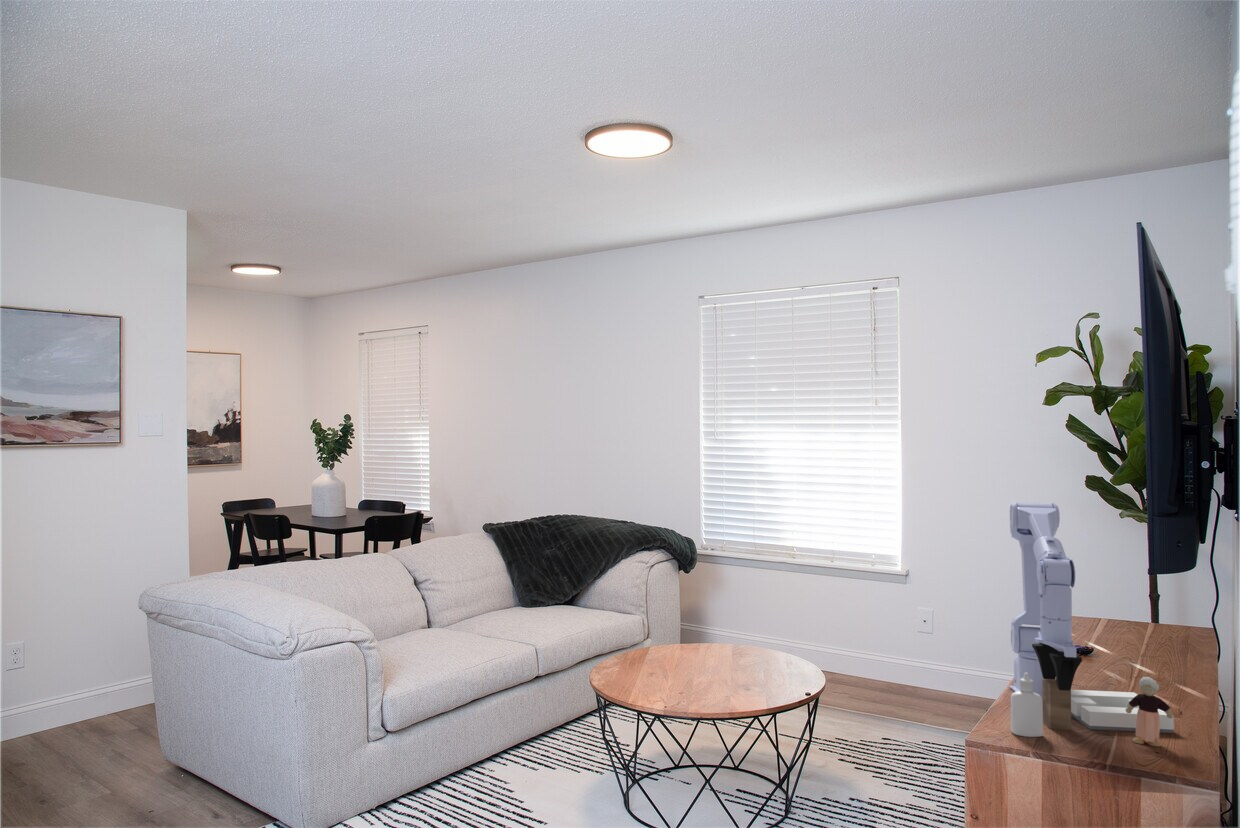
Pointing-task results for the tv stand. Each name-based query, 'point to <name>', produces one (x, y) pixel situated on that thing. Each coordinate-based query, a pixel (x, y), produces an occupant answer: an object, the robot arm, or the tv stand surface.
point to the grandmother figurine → (1148, 712)
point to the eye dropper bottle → (1026, 710)
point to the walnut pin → (1056, 706)
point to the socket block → (1110, 711)
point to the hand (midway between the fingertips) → (1056, 684)
